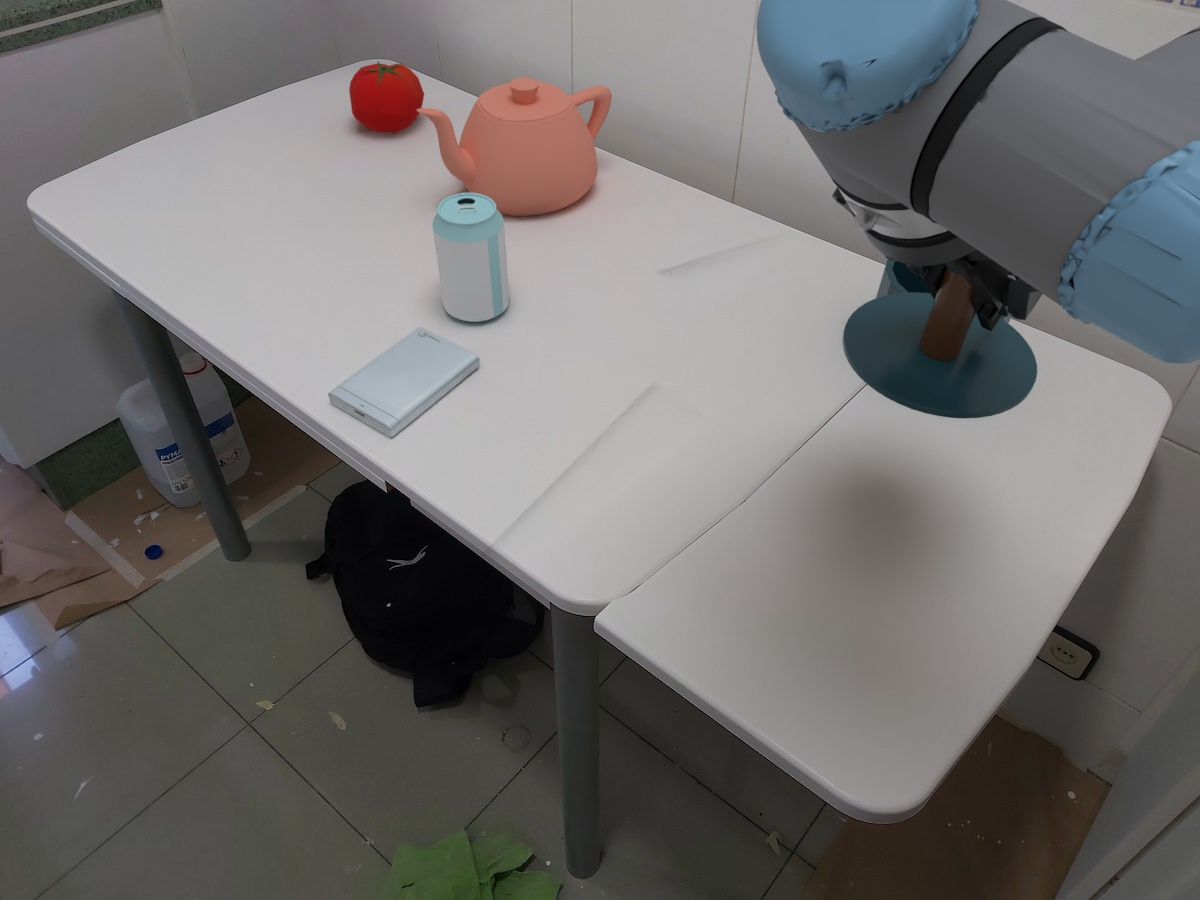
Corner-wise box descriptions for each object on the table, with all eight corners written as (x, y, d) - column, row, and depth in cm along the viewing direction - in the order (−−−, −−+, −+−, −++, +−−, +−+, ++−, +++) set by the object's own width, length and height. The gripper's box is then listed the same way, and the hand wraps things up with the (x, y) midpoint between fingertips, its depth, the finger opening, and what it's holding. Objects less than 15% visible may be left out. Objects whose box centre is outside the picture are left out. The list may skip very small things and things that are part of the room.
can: (430, 306, 95) (415, 206, 86) (480, 278, 98) (470, 180, 90) (473, 335, 91) (462, 235, 83) (523, 306, 95) (517, 207, 86)
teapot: (456, 246, 103) (443, 137, 93) (405, 180, 113) (389, 76, 103) (640, 195, 111) (646, 90, 102) (577, 138, 121) (578, 38, 112)
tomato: (340, 128, 122) (328, 67, 116) (397, 103, 128) (388, 44, 122) (385, 150, 118) (374, 88, 112) (441, 123, 124) (434, 63, 118)
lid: (1063, 360, 64) (1119, 253, 57) (975, 455, 57) (1027, 346, 50) (901, 282, 70) (934, 177, 64) (803, 359, 63) (830, 251, 57)
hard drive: (418, 324, 90) (326, 390, 83) (479, 355, 87) (389, 426, 80) (420, 337, 91) (330, 403, 84) (480, 368, 88) (392, 439, 81)
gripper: (750, 178, 47) (851, 299, 68) (1032, 307, 40) (1050, 400, 60) (827, 50, 46) (906, 212, 66) (1131, 158, 39) (1115, 304, 59)
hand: (974, 301), depth 63 cm, fingers closed on lid, 3 cm apart
